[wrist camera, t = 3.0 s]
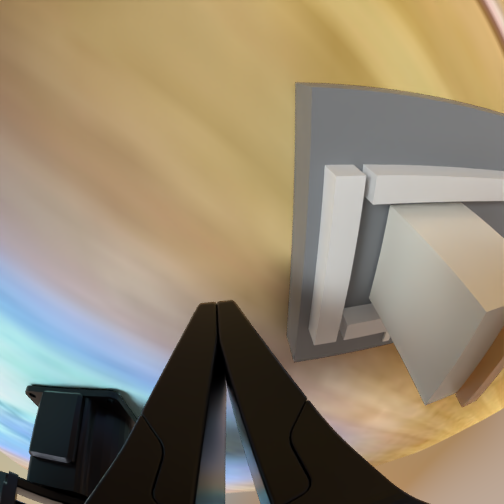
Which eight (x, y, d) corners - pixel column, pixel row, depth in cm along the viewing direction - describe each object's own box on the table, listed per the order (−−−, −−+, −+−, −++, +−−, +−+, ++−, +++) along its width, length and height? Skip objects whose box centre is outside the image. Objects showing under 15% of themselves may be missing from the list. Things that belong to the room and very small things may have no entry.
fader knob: (433, 288, 11) (500, 387, 7) (368, 300, 11) (430, 421, 6) (461, 199, 9) (564, 296, 5) (390, 201, 8) (501, 325, 4)
